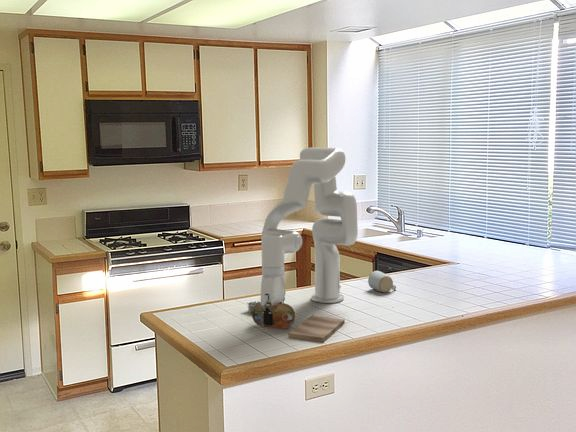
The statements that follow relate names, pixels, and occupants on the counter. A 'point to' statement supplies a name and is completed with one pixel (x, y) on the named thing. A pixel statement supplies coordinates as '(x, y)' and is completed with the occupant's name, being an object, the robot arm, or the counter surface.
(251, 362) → the counter surface
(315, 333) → the walnut board
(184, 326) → the counter surface
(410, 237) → the counter surface
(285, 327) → the tin
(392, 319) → the counter surface
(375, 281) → the ceramic mug
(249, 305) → the egg carton
